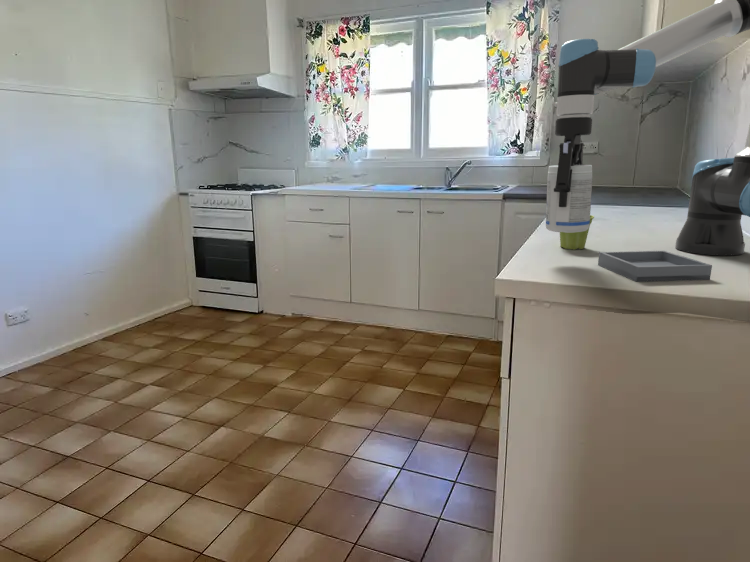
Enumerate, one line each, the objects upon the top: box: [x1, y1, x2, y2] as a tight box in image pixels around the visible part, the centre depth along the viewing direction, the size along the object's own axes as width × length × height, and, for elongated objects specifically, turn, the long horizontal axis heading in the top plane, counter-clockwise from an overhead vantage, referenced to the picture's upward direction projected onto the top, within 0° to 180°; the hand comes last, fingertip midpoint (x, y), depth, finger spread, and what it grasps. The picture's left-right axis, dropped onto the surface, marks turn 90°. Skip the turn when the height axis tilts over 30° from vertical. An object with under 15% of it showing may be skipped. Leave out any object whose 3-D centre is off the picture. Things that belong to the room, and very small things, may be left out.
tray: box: [597, 250, 713, 283], centre depth 111 cm, size 16×16×3 cm
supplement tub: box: [545, 164, 593, 233], centre depth 117 cm, size 10×10×15 cm
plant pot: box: [559, 214, 595, 250], centre depth 138 cm, size 9×9×9 cm
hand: (567, 218), depth 118 cm, fingers closed on supplement tub, 9 cm apart
